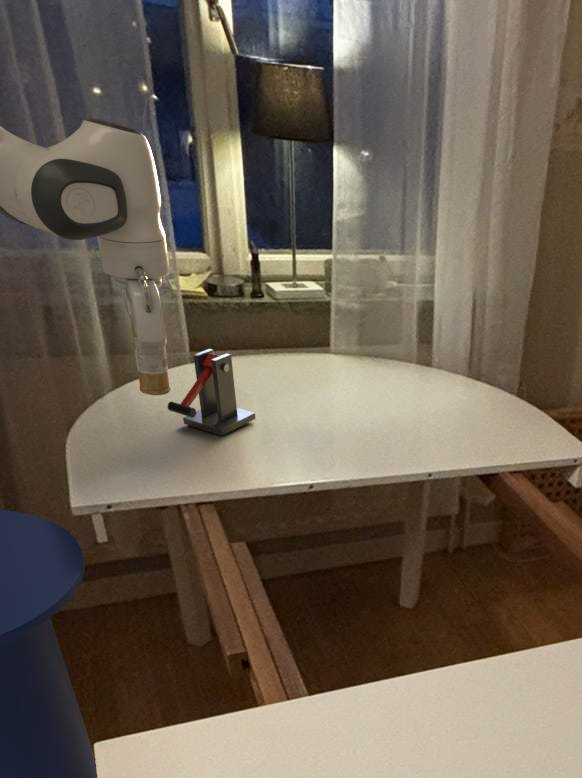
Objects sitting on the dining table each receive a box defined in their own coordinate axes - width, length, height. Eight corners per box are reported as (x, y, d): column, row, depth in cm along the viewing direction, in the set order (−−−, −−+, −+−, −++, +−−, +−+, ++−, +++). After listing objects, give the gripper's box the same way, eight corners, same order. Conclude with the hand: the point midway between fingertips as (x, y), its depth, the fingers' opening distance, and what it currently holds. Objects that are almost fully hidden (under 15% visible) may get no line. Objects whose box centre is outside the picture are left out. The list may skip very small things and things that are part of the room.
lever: (193, 420, 138) (187, 412, 136) (171, 414, 139) (165, 405, 137) (231, 366, 142) (225, 357, 140) (209, 360, 143) (203, 350, 141)
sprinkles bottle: (149, 384, 121) (137, 294, 113) (176, 389, 120) (166, 299, 112) (133, 393, 117) (120, 300, 109) (161, 398, 117) (150, 305, 109)
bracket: (222, 435, 143) (213, 367, 135) (183, 423, 145) (173, 356, 138) (255, 418, 150) (249, 353, 142) (218, 407, 153) (210, 342, 145)
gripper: (169, 278, 101) (183, 381, 110) (149, 242, 115) (163, 336, 124) (118, 278, 99) (135, 383, 107) (104, 241, 113) (121, 337, 121)
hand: (150, 358), depth 116 cm, fingers closed on sprinkles bottle, 4 cm apart
